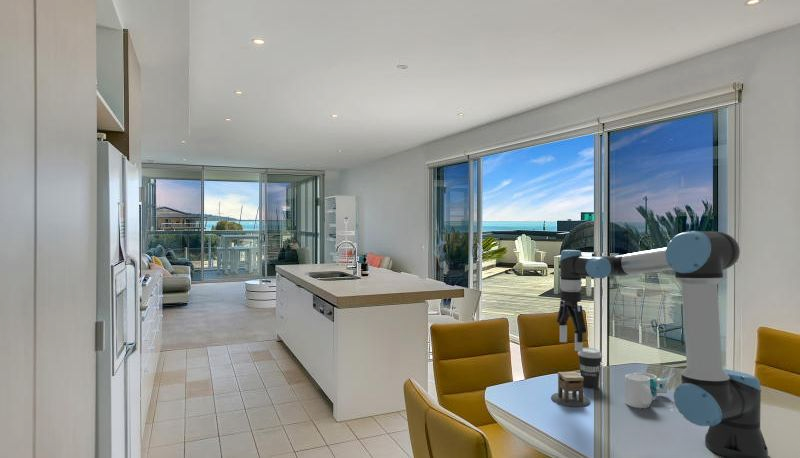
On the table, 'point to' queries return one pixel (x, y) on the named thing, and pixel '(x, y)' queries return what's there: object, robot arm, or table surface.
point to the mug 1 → (637, 391)
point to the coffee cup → (590, 367)
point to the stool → (570, 385)
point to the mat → (570, 400)
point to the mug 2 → (655, 384)
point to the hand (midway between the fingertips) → (570, 346)
